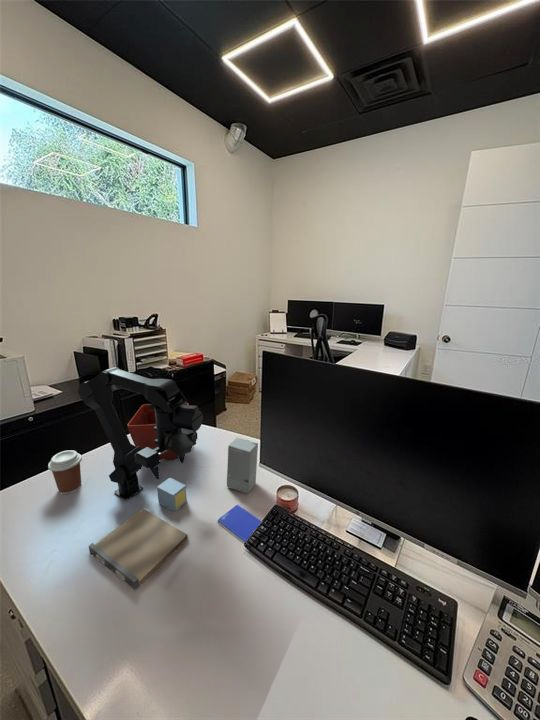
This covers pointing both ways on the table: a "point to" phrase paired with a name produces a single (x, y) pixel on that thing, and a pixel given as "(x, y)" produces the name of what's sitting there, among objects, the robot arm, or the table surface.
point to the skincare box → (242, 464)
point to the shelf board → (138, 547)
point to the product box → (172, 494)
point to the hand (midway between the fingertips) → (169, 470)
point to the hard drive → (239, 522)
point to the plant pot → (147, 431)
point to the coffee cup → (66, 471)
